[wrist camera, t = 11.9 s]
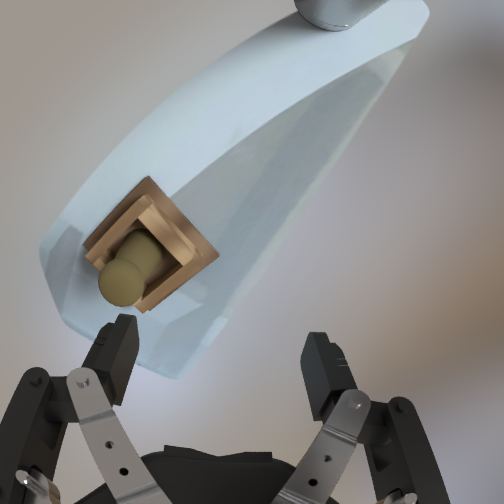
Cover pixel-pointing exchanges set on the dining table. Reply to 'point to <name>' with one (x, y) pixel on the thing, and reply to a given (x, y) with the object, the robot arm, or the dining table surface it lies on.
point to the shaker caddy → (165, 230)
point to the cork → (130, 268)
